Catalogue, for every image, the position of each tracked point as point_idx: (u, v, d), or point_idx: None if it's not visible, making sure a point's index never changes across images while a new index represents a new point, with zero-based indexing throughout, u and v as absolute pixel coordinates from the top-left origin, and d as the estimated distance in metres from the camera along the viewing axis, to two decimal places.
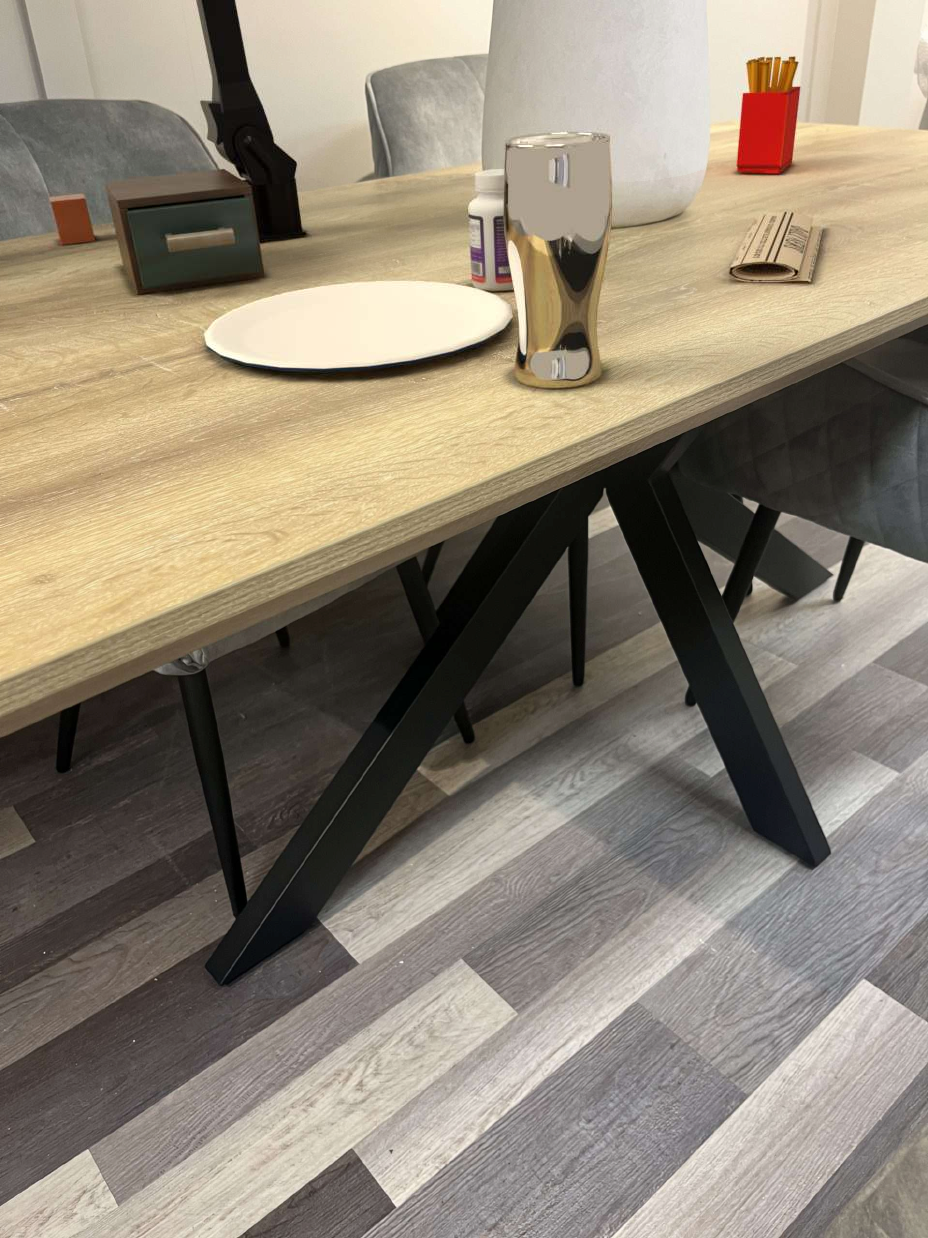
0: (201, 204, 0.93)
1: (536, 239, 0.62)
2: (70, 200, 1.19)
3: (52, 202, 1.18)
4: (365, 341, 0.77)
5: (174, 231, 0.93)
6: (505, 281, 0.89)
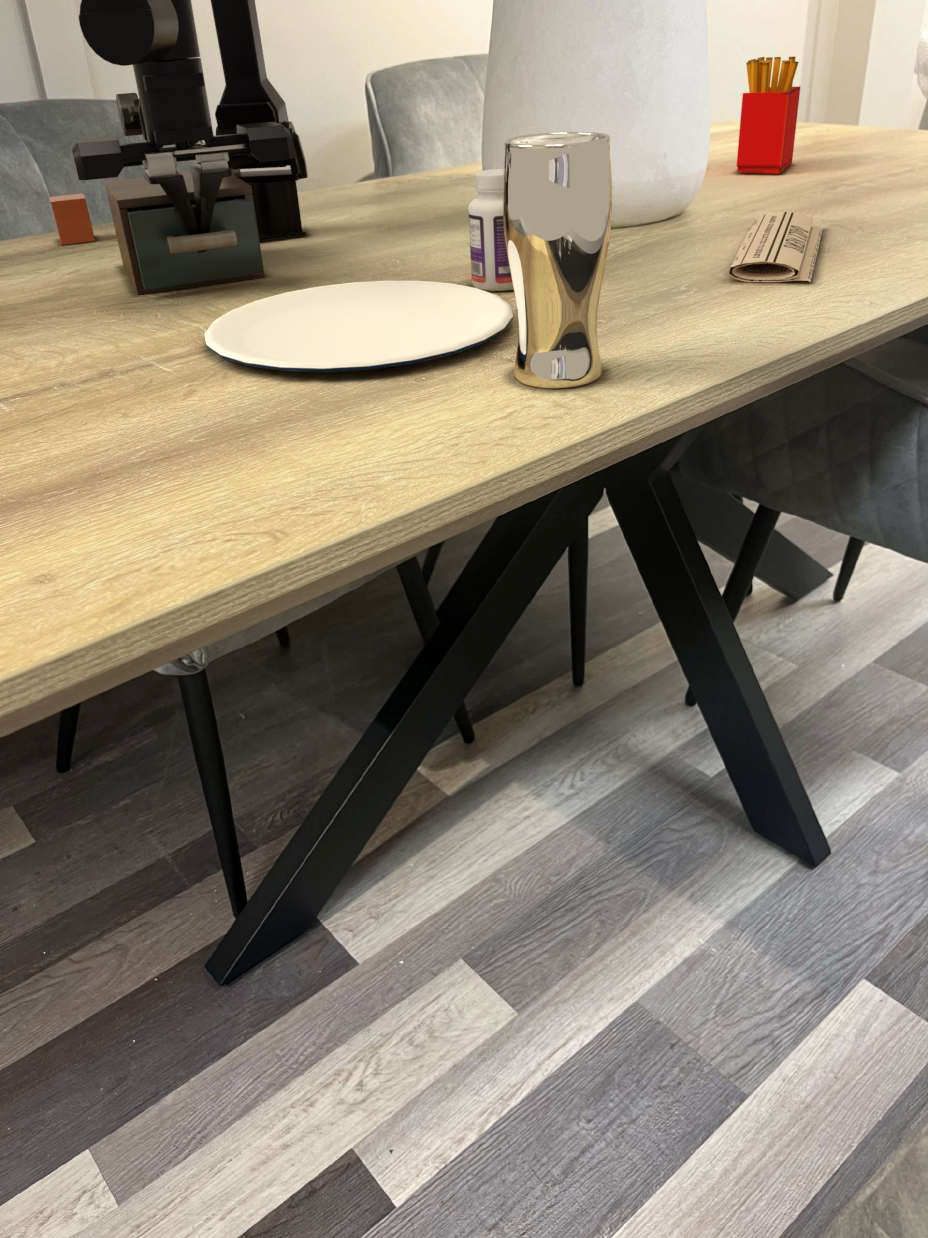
0: None
1: (536, 239, 0.62)
2: (70, 200, 1.19)
3: (52, 202, 1.18)
4: (365, 341, 0.77)
5: (176, 233, 0.93)
6: (505, 280, 0.89)
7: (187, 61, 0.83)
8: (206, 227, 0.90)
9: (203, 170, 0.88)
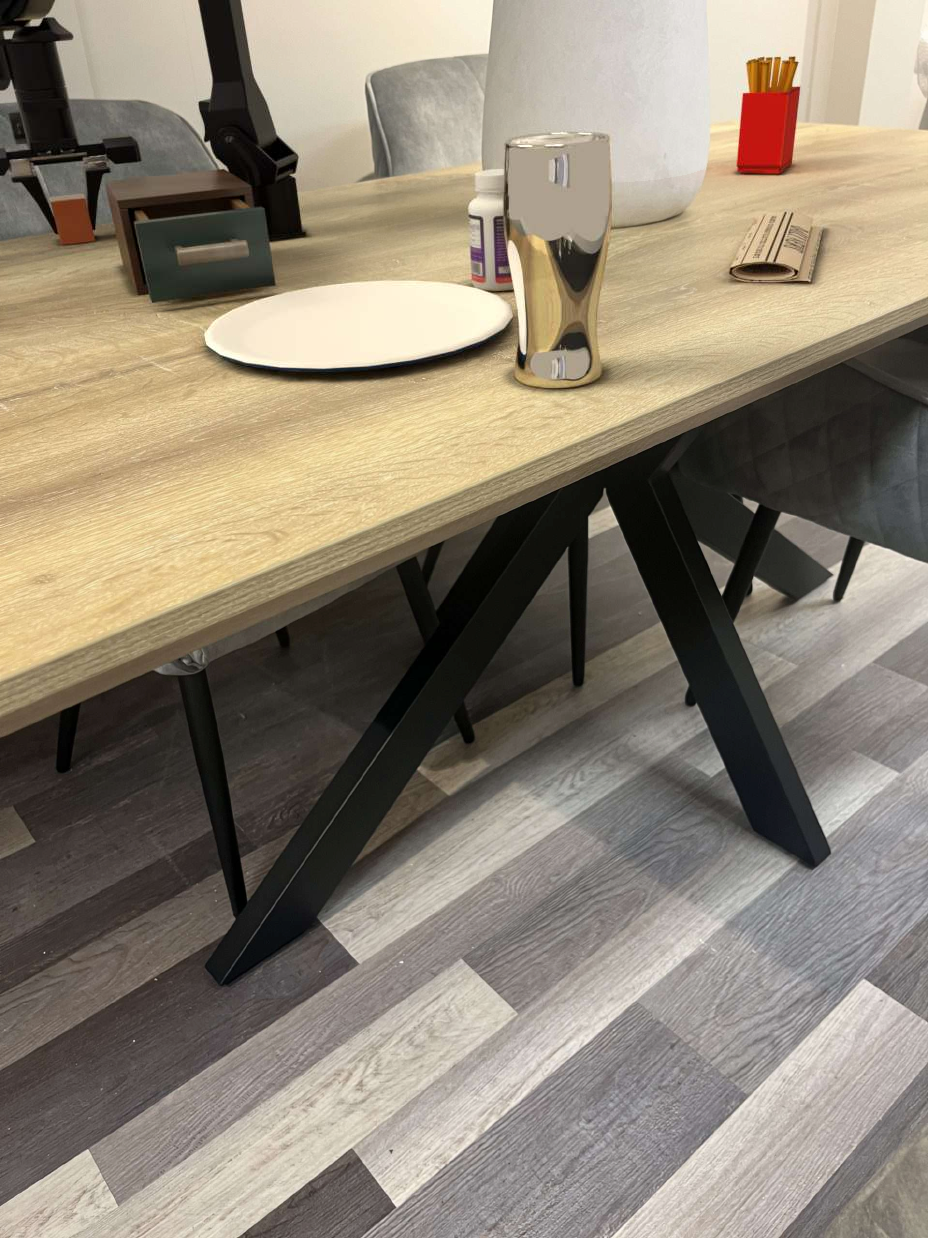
0: (213, 214, 0.88)
1: (536, 239, 0.62)
2: (70, 200, 1.19)
3: (52, 202, 1.18)
4: (365, 341, 0.77)
5: (184, 243, 0.88)
6: (505, 280, 0.89)
7: (54, 90, 1.12)
8: (93, 211, 1.21)
9: (89, 169, 1.18)
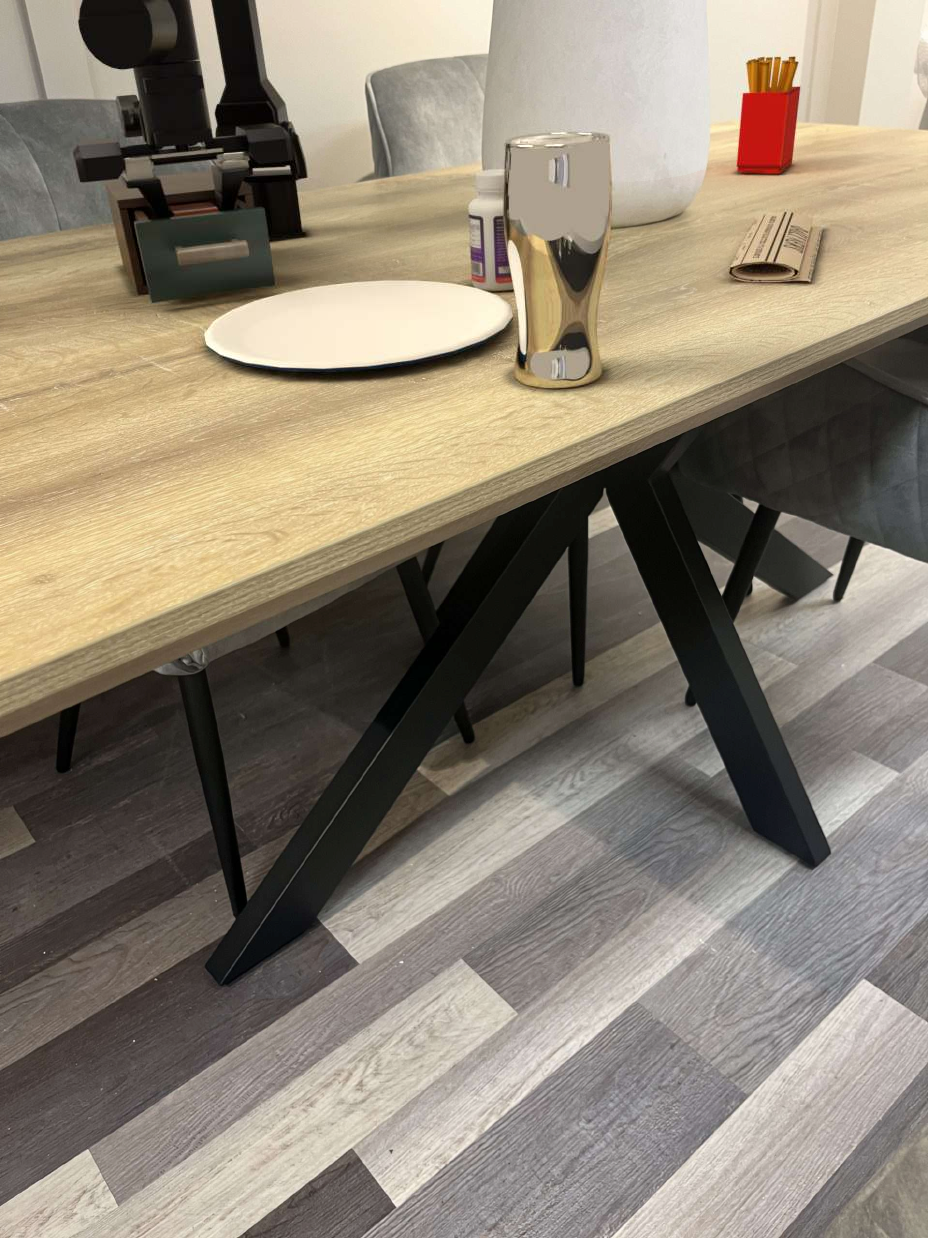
0: (213, 214, 0.88)
1: (536, 239, 0.62)
2: (199, 211, 0.90)
3: (176, 214, 0.89)
4: (365, 341, 0.77)
5: (184, 243, 0.88)
6: (505, 280, 0.89)
7: (187, 64, 0.84)
8: None
9: (225, 170, 0.89)
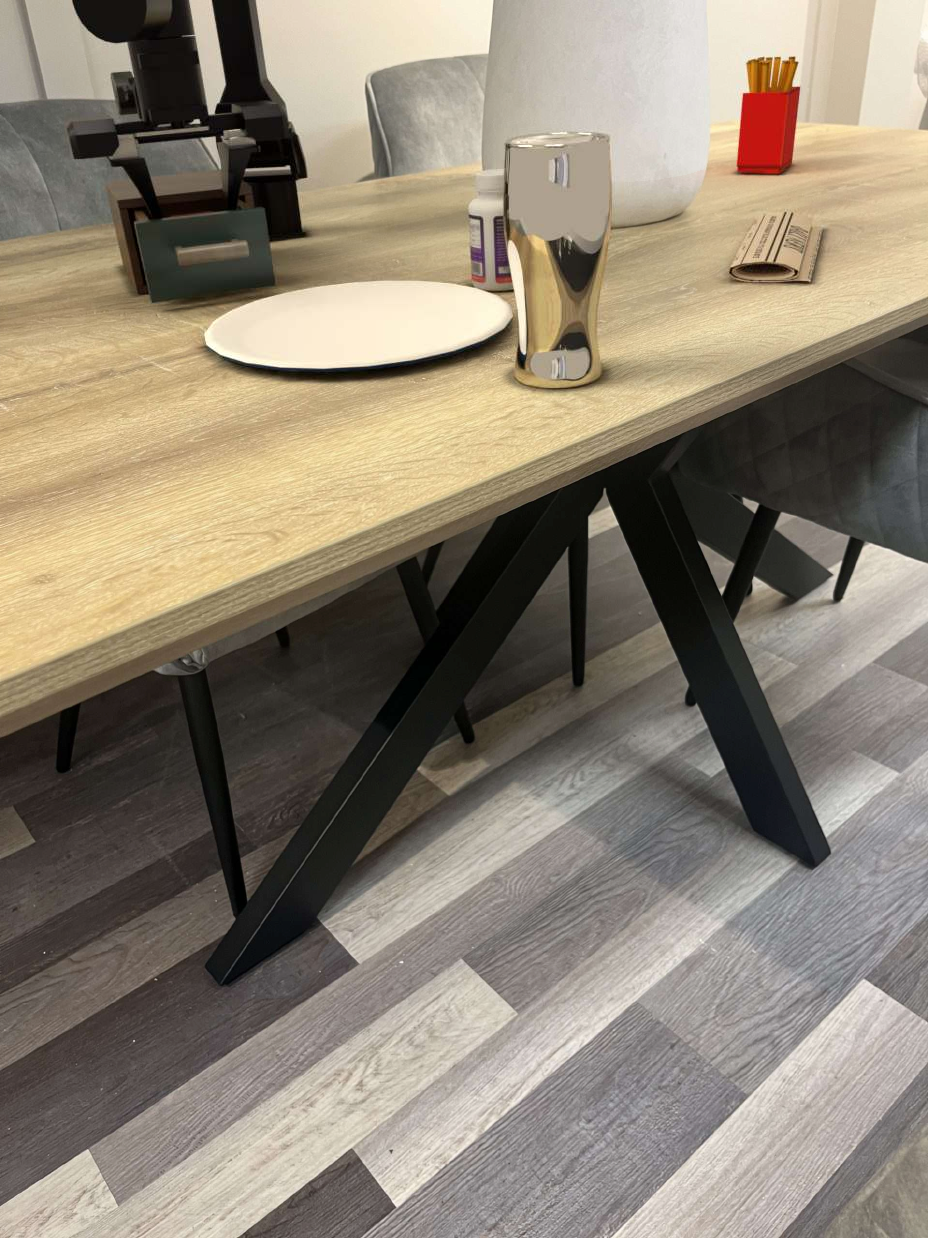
0: (213, 214, 0.88)
1: (536, 239, 0.62)
2: None
3: None
4: (365, 341, 0.77)
5: (184, 243, 0.88)
6: (505, 280, 0.89)
7: (182, 39, 0.82)
8: (233, 203, 0.91)
9: (231, 146, 0.89)
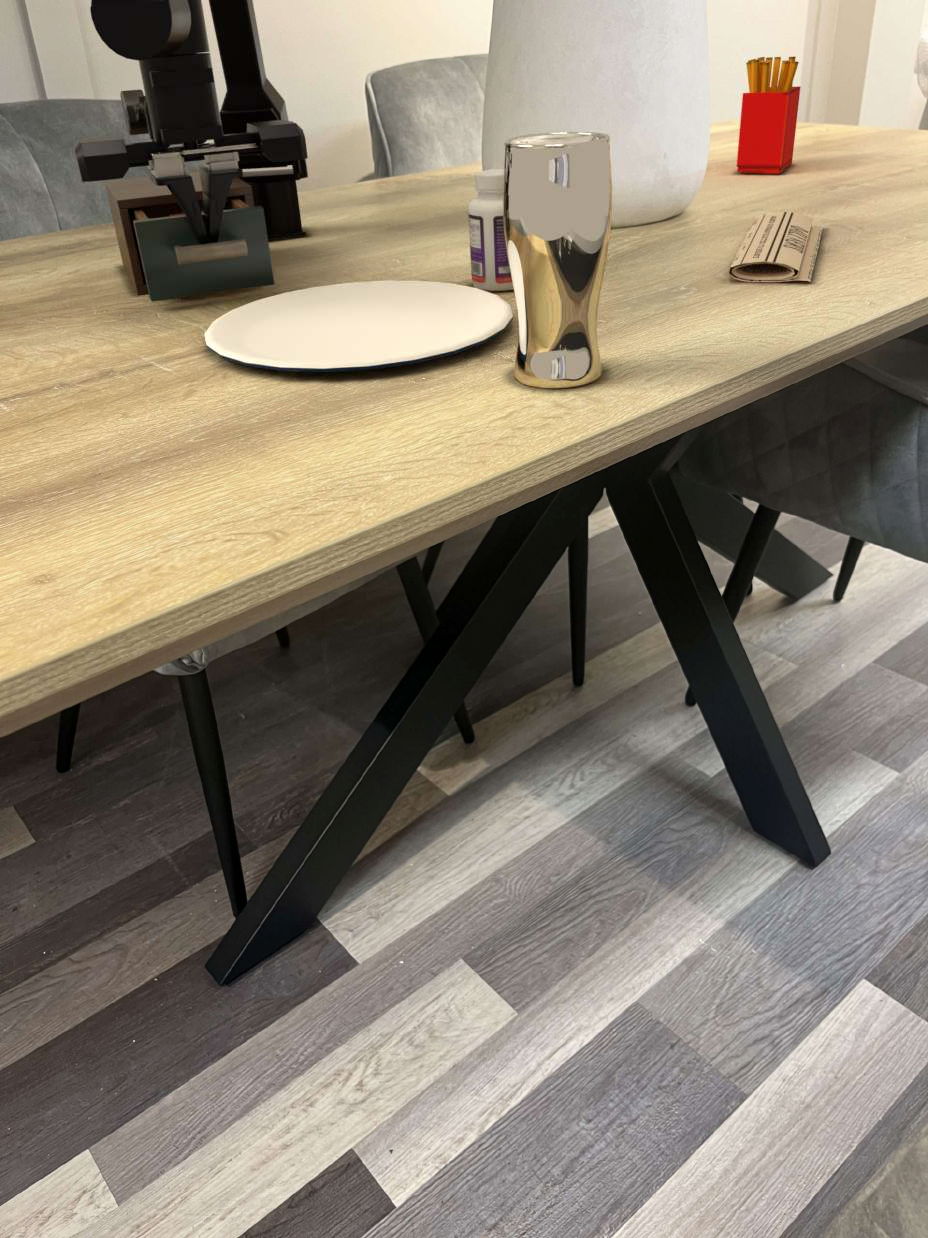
0: None
1: (536, 239, 0.62)
2: None
3: None
4: (365, 341, 0.77)
5: (183, 242, 0.89)
6: (505, 280, 0.89)
7: (196, 56, 0.79)
8: (215, 230, 0.86)
9: (213, 171, 0.84)
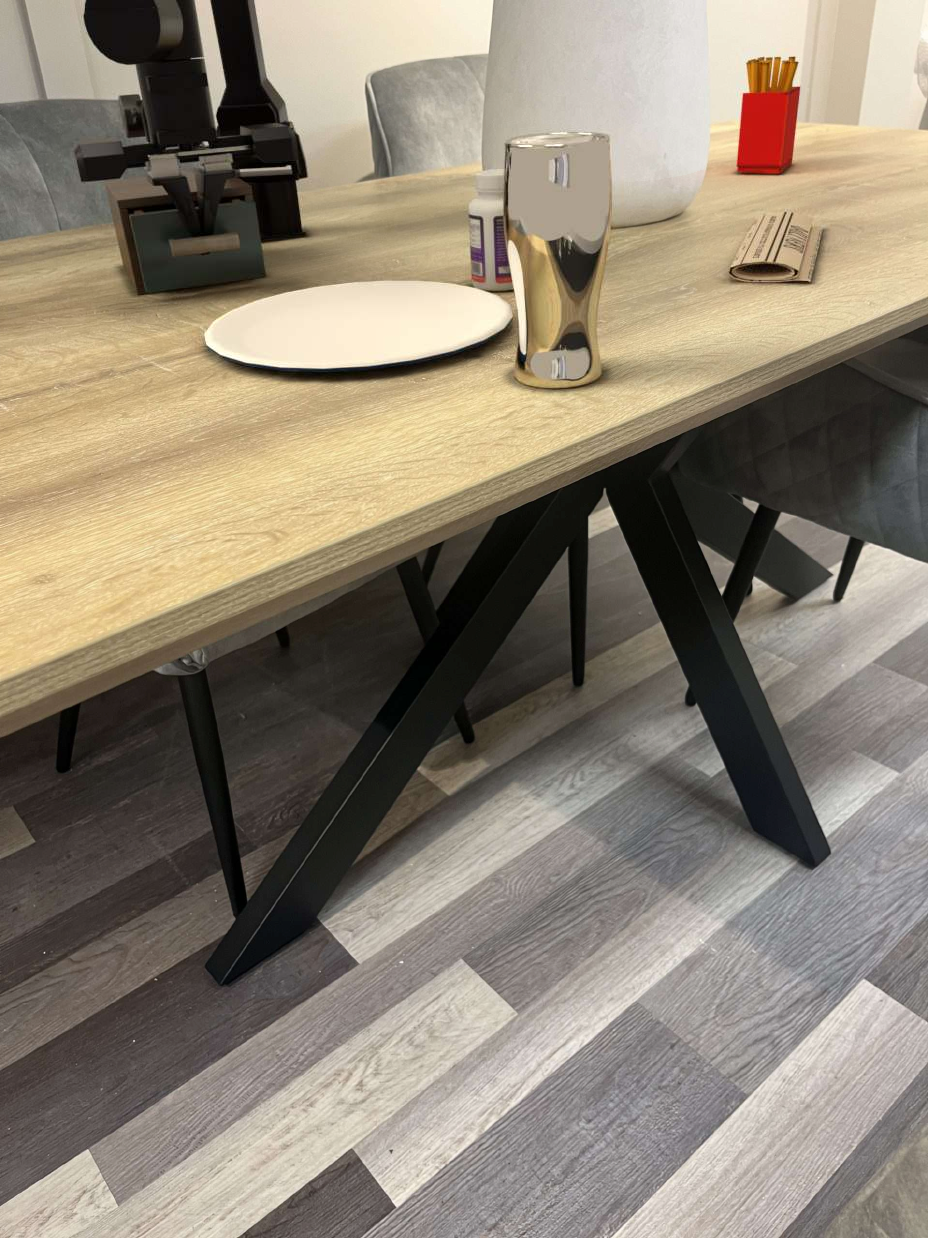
0: None
1: (536, 239, 0.62)
2: None
3: None
4: (365, 341, 0.77)
5: (178, 235, 0.91)
6: (505, 280, 0.89)
7: (191, 61, 0.82)
8: (209, 229, 0.89)
9: (207, 172, 0.87)
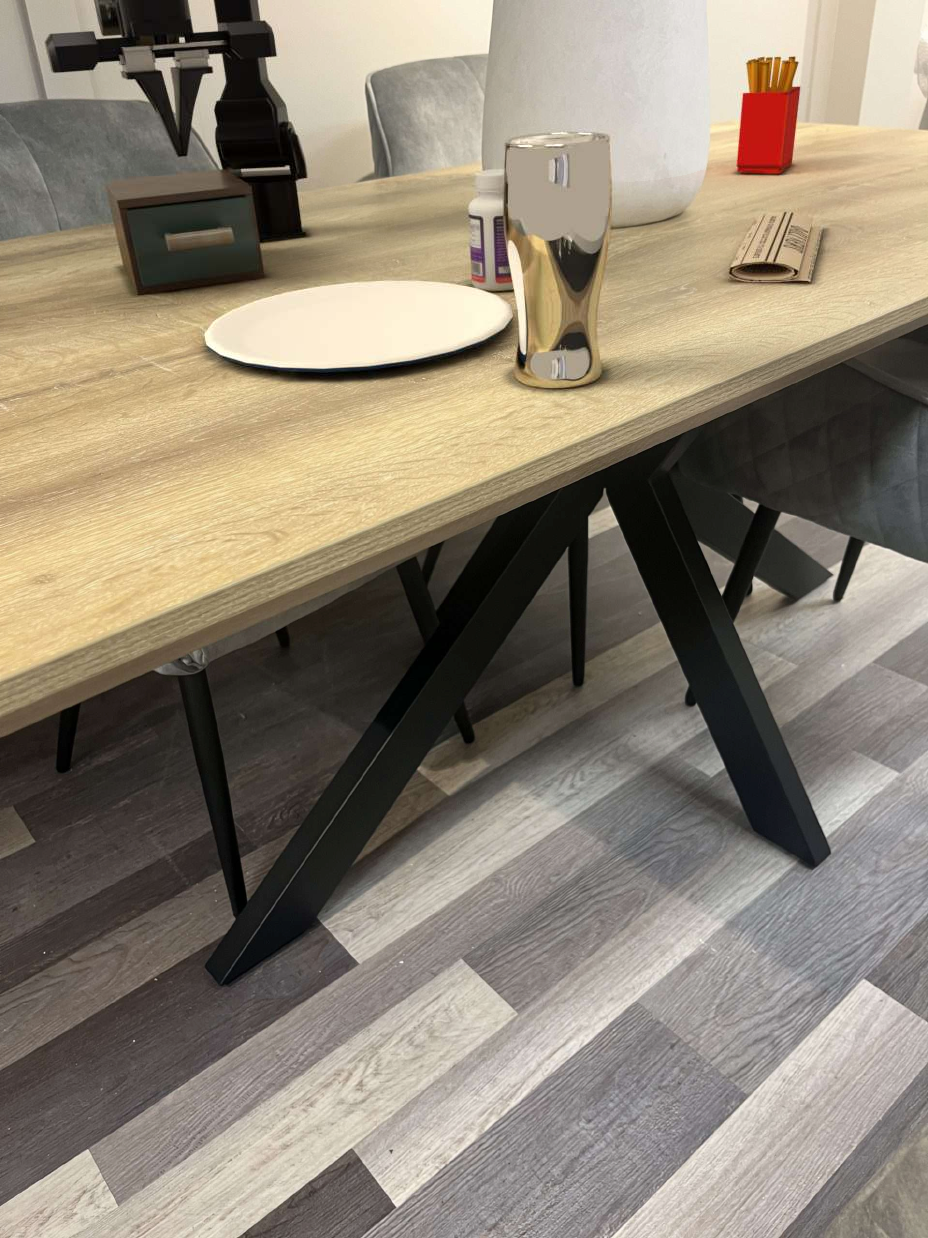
0: (200, 203, 0.94)
1: (536, 239, 0.62)
2: None
3: None
4: (365, 341, 0.77)
5: (173, 230, 0.94)
6: (505, 280, 0.89)
7: None
8: (186, 129, 0.88)
9: (183, 67, 0.85)
